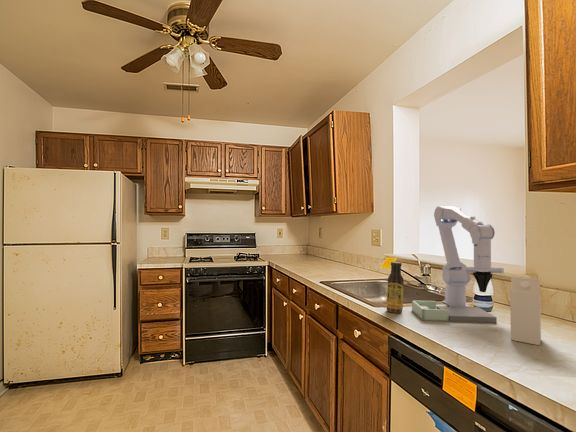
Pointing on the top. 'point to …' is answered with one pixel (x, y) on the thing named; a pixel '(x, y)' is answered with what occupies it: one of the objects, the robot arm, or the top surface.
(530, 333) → the milk carton
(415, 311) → the tray
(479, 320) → the board
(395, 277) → the sauce bottle
